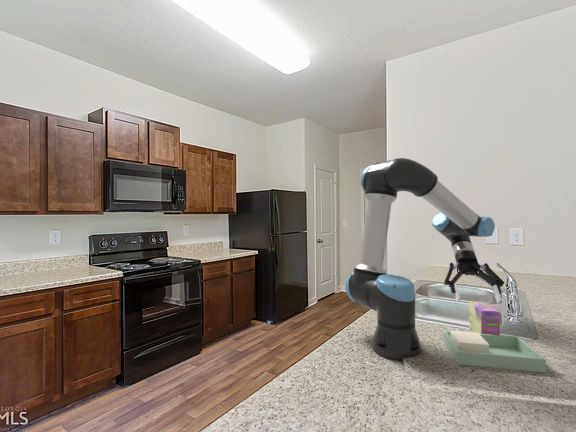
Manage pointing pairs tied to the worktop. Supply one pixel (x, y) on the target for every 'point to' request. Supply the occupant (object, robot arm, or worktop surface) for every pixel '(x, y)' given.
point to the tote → (499, 354)
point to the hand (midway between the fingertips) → (478, 301)
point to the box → (483, 318)
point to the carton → (469, 342)
